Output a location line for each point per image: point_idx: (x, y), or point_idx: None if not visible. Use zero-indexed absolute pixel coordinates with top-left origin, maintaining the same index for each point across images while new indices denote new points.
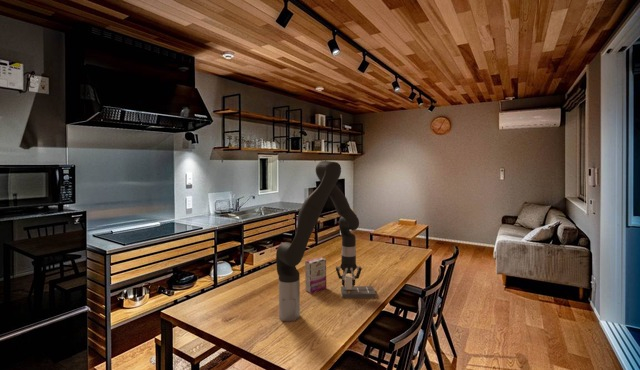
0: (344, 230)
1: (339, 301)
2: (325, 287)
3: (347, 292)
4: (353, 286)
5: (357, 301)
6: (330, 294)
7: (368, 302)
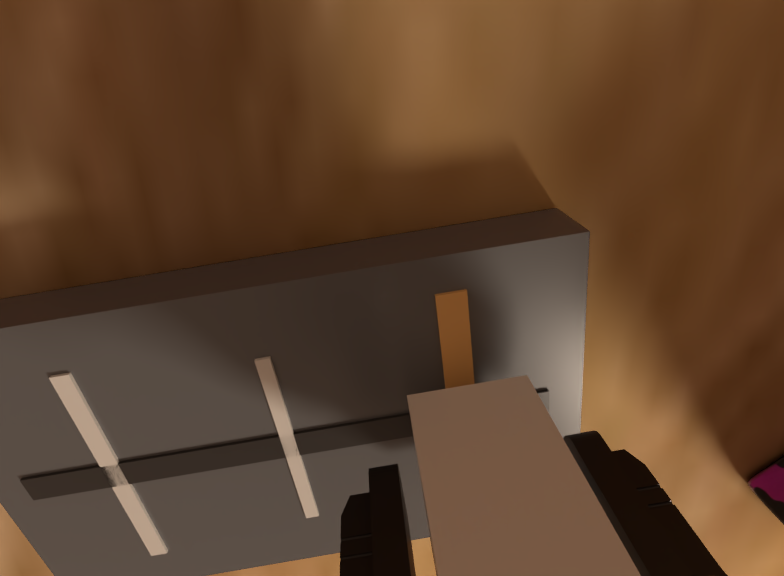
0: None
1: (633, 38)
2: (771, 481)
3: (483, 321)
4: (374, 467)
5: (268, 88)
6: (733, 311)
7: (24, 67)
